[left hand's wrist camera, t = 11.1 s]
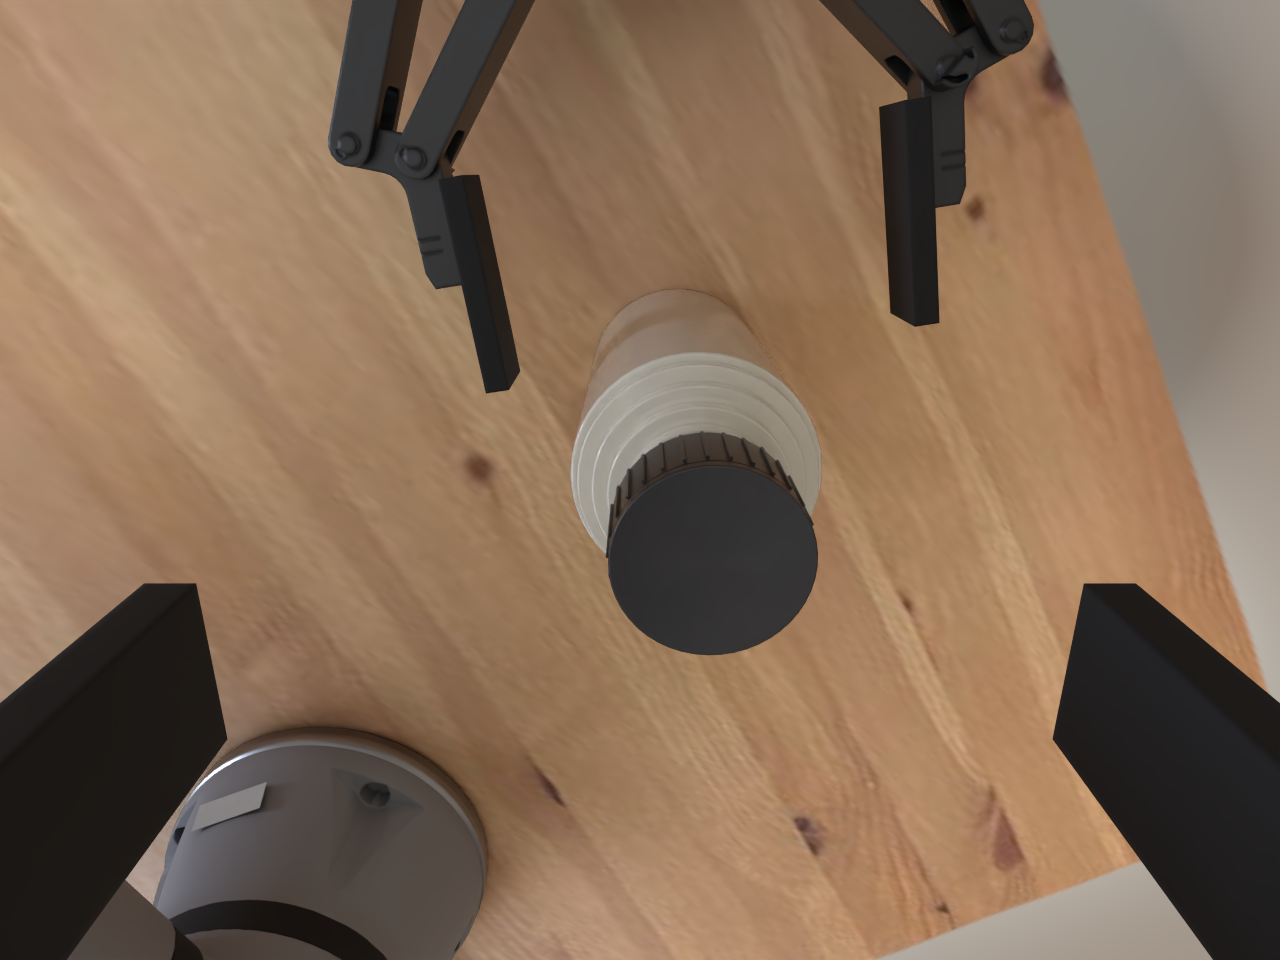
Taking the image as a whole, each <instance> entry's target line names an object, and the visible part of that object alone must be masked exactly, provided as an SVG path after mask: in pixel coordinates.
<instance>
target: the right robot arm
mask: <svg viewBox="0 0 1280 960" xmlns="http://www.w3.org/2000/svg"><path fill="white" fill-rule="evenodd" d="M422 1H423V0H353V1H352V6H351V12H350V18H349V23H348V29H347V35H346V40H345V46H344V52H343V57H342V63H341V69H340V74H339V80H338V86H337V92H336V97H335V103H334V109H333V114H332V120H331V126H330V131H329V137H328V147H329V149H330V152H331V155H332V156H333V157H334V158H335V159H336V161H337V162H339V163H341V164H342V165H344V166H350V167H357V168H362V169H367V170H372V171H377V172H382V173H386V174H389V175H391V176H393V177H394V178H396V179H397V180H398V181H399V182H400V183H401V184H402V186H403V187H404V189H405V191H406V194H407V197H408V201H409V206H410V210H411V214H412V218H413V222H414V226H415V231H416V235H417V239H418V241H419V247H420V252H421V254H422V260H423V264H424V268H425V272H426V275H427V276H428V278H429V279H430V281H431V282H432V284H433V285H434V287H435V288H436V289H440V288H447V287H453V286H459V285H462V289H463V294H464V298H465V303H466V307H467V311H468V316H469V320H470V325H471V329H472V333H473V338H474V342H475V347H476V351H477V356H478V360H479V364H480V369H481V373H482V378H483V382H484V387H485V391H486V393H492V392H498V391H505V390H509V389H510V388H511V386H512V384H513V382H514V381H515V379H516V377H517V376H518V374H519V372H520V368H519V363H518V358H517V353H516V348H515V344H514V339H513V334H512V329H511V325H510V320H509V315H508V310H507V306H506V301H505V296H504V291H503V287H502V282H501V277H500V272H499V267H498V263H497V258H496V253H495V248H494V244H493V239H492V234H491V229H490V225H489V220H488V215H487V210H486V205H485V201H484V196H483V191H482V186H481V182H480V177H479V175H461V176H455V177H453V175H452V173H453V172H454V171H455V170H454V169H453V168H451V167H452V165H453V163H454V161H455V159H456V157H457V155H458V153H459V151H460V149H461V147H462V145H463V143H464V141H465V139H466V137H467V135H468V133H469V131H470V129H471V127H472V125H473V123H474V121H475V119H476V117H477V115H478V113H479V111H480V109H481V107H482V105H483V103H484V101H485V99H486V97H487V95H488V93H489V91H490V89H491V87H492V85H493V83H494V81H495V79H496V77H497V75H498V73H499V71H500V69H501V67H502V65H503V63H504V61H505V59H506V57H507V55H508V53H509V51H510V49H511V47H512V45H513V43H514V41H515V39H516V37H517V35H518V33H519V31H520V29H521V27H522V25H523V23H524V21H525V19H526V17H527V15H528V13H529V11H530V9H531V7H532V5H533V3H534V1H535V0H465V2H464V4H463V7H462V9H461V11H460V13H459V15H458V17H457V19H456V21H455V23H454V26H453V28H452V30H451V32H450V34H449V36H448V38H447V40H446V42H445V45H444V47H443V49H442V51H441V53H440V55H439V57H438V59H437V61H436V63H435V66H434V68H433V70H432V72H431V74H430V76H429V78H428V80H427V82H426V85H425V87H424V89H423V91H422V93H421V95H420V97H419V99H418V101H417V104H416V106H415V108H414V110H413V112H412V114H411V116H410V118H409V120H408V123H407V125H406V127H405V129H404V131H403V133H401V132H396V130H397V125H398V120H399V115H400V110H401V106H402V101H403V96H404V91H405V86H406V81H407V76H408V71H409V66H410V61H411V56H412V51H413V46H414V41H415V36H416V31H417V26H418V21H419V16H420V11H421V6H422ZM819 1H820V2H821V3H822V4H823V5H824V6H825V7H826V8H827V9H828V10H829V11H830V12H831V13H832V14H833V15H834V16H835V17H836V18H837V19H838V20H839V21H840V22H841V24H842V25H843V26H844V27H845V28H846V29H847V30H848V31H849V32H850V33H851V34H852V35H853V36H854V37H855V38H856V39H857V40H858V41H859V42H860V43H861V44H862V45H863V47H864V48H865V49H866V50H867V51H868V52H869V53H870V54H871V55H872V56H873V57H874V58H875V59H876V60H877V61H878V62H879V63H880V64H881V65H882V66H883V67H884V68H885V70H886V71H887V72H888V73H889V74H890V75H891V76H892V77H893V78H894V79H895V80H896V81H897V82H898V83H899V84H900V85H901V86H902V87H903V88H904V89H905V90H906V91H907V95H908V100H904V101H900V102H897V103H893V104H889V105H885V106H882V107H879V113H880V131H881V149H882V167H883V185H884V204H885V222H886V240H887V258H888V276H889V294H890V313H891V314H893V315H895V316H897V317H899V318H900V319H902V320H904V321H906V322H908V323H909V324H911V325H913V326H915V327H916V326H923V325H929V324H935V323H939V299H938V271H937V242H936V214H935V208H938V207H944V206H950V205H956V204H960V202H961V199H962V196H963V193H964V190H965V187H966V167H965V121H964V98H965V93H966V89H967V87H968V85H969V83H970V82H971V80H973V78H974V77H975V76H976V75H977V74H979V73H980V72H981V71H983V70H985V69H986V68H988V67H990V66H992V65H993V64H995V63H997V62H999V61H1001V60H1002V59H1004V58H1006V57H1008V56H1009V55H1012V54H1015V53H1017V52H1019V51H1021V50H1022V49H1023V48H1024V47H1025V46H1026V45H1027V44H1028V43H1029V41H1030V39H1031V37H1032V35H1033V28H1034V24H1033V20H1032V16H1031V14H1030V12H1029V10H1028V8H1027V6H1026V4H1025V2H1024V0H933V1H934V3H935V5H936V7H937V9H938V11H939V13H940V15H941V17H942V18H943V20H944V22H945V24H946V26H947V28H948V30H949V32H950V33H949V32H948V31H947V30H946V29H945V28H944V26H943V25H942V24H941V23H940V22H939V21H938V20H937V19H936V18H935V17H934V16H933V14H932V13H931V12H930V11H929V10H928V9H927V8H926V7H925V6H924V5H923V4H922V3H921V1H920V0H819Z"/></svg>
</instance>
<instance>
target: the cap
mask: <svg viewBox="0 0 1280 960" xmlns="http://www.w3.org/2000/svg"><path fill="white" fill-rule="evenodd" d="M805 506H806V505H805V503H804V501H803V499H802V497H801V495H800V493H799V492H798V490H797V488H796V486H795V484H794V482H793V480H792V478H791V476H790V475H789V476H787V474H786V473H785V471H784V469H783V467H782V465H781V463H780V461H779V460H778V459H777V460H775V459H774V458H773V457H772V456H770V455H769V454H768V453H767V452H766V451H765V449H764V448H763V447H762V446H761V447H758V446H757V445H755V444H753V443H751V442H749V441H747V440H746V438H744V437H742V438H739V437H736V436H732V435H728V434H725V432H722V433H712V432H704V431H700V433H693V434H687V435H679V437H676V438H672V439H670V440H668V441H666V442H663V443H662V442H660V443H659V445H658V446H656V447H654V448H653V449H651V450H650V451H648V452H647V453H646V454H644V453H643V454H642V455H641V458H640V459H639V460H638V461H637V462H636V463H635V464H634V465H633V466H632V467H631V468H628V469H627V474H626V475H625V477H624V478H623V480H622V482H621V484H620V486H619V485H617V487H616V496H615V499H614V503H613V504H611V505H610V515H609V524H608V536H607V548H606V558H608V569H609V578H610V582H611V587H612V589H613V592H614V595H615V598H616V600H617V601H618V603H619V605H620V607H621V609H622V610H623V612H624V613H625V614H626V616H627V617H628V619H629V620H630V621H631V622H632V623H633V624H634V625H635V626H636V627H637V628H638V629H639V630H641V631H642V632H643V633H644V634H646V635H647V636H648V637H650V638H652V639H653V640H655V641H656V642H658V643H660V644H662V645H665V646H667V647H669V648H672V649H675V650H678V651H681V652H686V653H691V654H699V655H722V654H729V653H735V652H738V651H742V650H746V649H748V648H751V647H754V646H756V645H759V644H760V643H762V642H764V641H766V640H768V639H770V638H771V637H773V636H774V635H776V634H777V633H778V632H780V631H781V630H782V629H783V628H784V627H786V626H787V625H788V624H789V623H790V622H791V621H792V620H793V619H794V617H795V616H796V615H797V614H798V613H799V611H800V610H801V608H802V607H803V605H804V604H805V602H806V600H807V598H808V596H809V594H810V592H811V590H812V587H813V584H814V581H815V577H816V572H817V566H818V550H817V541H816V537H815V533H814V530H813V527H812V526H813V525H814V524H813V522H812V520H811V518H810V516H809V514H808V512H807V510H806V508H805Z"/></svg>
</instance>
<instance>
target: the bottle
mask: <svg viewBox="0 0 1280 960" xmlns="http://www.w3.org/2000/svg"><path fill="white" fill-rule="evenodd" d="M700 431H704V432H712V433H722V432H725V434H728V435H732V436H736V437H739V438H742V437H744V438H746V440H747V441H749V442H751V443H753V444H755V445H757V446H758V447H761V446H762V447H763V448H764V449H765V451H766V452H767V453H768V454H769V455H770V456H772V457H773V458H774V459H775V460H777V459H778V460H779V461H780V463H781V465H782V467H783V469H784V471H785V473H786V474H787V476H789V475H790V476H791V478H792V480H793V482H794V484H795V486H796V488H797V490H798V492H799V493H800V495H801V497H802V499H803V501H804V503H805V505H806V506H805V508H806V510H807V512H808V514H809V516H810V517H811V515H812V513H813V511H814V508H815V505H816V502H817V499H818V496H819V491H820V485H821V480H822V457H821V448H820V444H819V440H818V436H817V432H816V430H815V427H814V425H813V423H812V420H811V418H810V416H809V414H808V413H807V411H806V409H805V407H804V406H803V404H802V403H801V401H800V400H799V398H798V397H797V396H796V394H795V393H794V391H793V390H792V389H791V387H790V386H789V384H788V383H787V382H786V380H785V379H784V377H783V376H782V375H781V373H780V372H779V370H778V369H777V368H776V366H775V365H774V363H773V362H772V360H771V359H770V358H769V356H768V355H767V353H766V352H765V351H764V349H763V348H762V346H761V345H760V344H759V342H758V341H757V339H756V338H755V337H754V335H753V334H752V332H751V331H750V329H749V328H748V327H747V325H746V324H745V323H744V321H743V320H742V319H741V318H740V316H739V315H738V314H737V313H736V312H735V311H734V310H732V309H731V308H730V307H729V306H727V305H726V304H725V303H723V302H722V301H720V300H718V299H716V298H714V297H712V296H710V295H707V294H704V293H701V292H697V291H693V290H684V289H671V290H664V291H658V292H655V293H651V294H648V295H646V296H644V297H641V298H639V299H637V300H635V301H634V302H632V303H631V304H629V305H628V306H626V307H625V308H624V309H623V310H622V311H620V312H619V313H618V314H617V315H616V317H615V318H614V319H613V320H612V321H611V322H610V324H609V325H608V327H607V328H606V329H605V331H604V333H603V335H602V337H601V339H600V341H599V344H598V347H597V350H596V354H595V358H594V362H593V366H592V371H591V375H590V379H589V383H588V387H587V392H586V396H585V400H584V404H583V409H582V413H581V417H580V421H579V426H578V430H577V434H576V438H575V443H574V447H573V452H572V457H571V471H570V476H571V489H572V494H573V498H574V503H575V506H576V509H577V512H578V514H579V517H580V519H581V521H582V523H583V525H584V527H585V529H586V531H587V532H588V534H589V535H590V536H591V538H592V539H593V541H594V542H595V543H596V545H597V546H598V547H599V548H600V549H601V550H602V551H603V552H604V553H605V554H606V548H607V536H608V524H609V515H610V505H611V504H613V503H614V499H615V496H616V487H617V485H619V486H620V484H621V482H622V480H623V478H624V477H625V475H626V474H627V469H628V468H631V467H632V466H633V465H634V464H635V463H636V462H637V461H638V460H639V459H640V458H641V455H642V454H643V453H644V454H646V453H647V452H648V451H650V450H651V449H653V448H654V447H656V446H658V445H659V443H660V442H662V443H663V442H666V441H668V440H670V439H672V438H676V437H679V435H687V434H693V433H700Z"/></svg>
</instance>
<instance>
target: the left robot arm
mask: <svg viewBox="0 0 1280 960" xmlns="http://www.w3.org/2000/svg"><path fill="white" fill-rule="evenodd" d="M226 740H227V734H226V730H225V725H224V720H223V715H222V710H221V705H220V700H219V695H218V690H217V685H216V680H215V675H214V670H213V665H212V660H211V655H210V650H209V645H208V640H207V635H206V630H205V625H204V620H203V615H202V611H201V606H200V601H199V596H198V591H197V586H196V584H143V585H142V586H141V587H139V588H138V589H137V590H136V591H135V592H133V593H132V594H131V595H130V596H129V597H127V598H126V599H125V600H124V601H123V602H121V603H120V604H119V605H118V606H117V607H115V608H114V609H113V610H112V611H111V612H109V613H108V614H107V615H106V616H105V617H103V618H102V619H101V620H100V621H99V622H97V623H96V624H95V625H94V626H93V627H91V628H90V629H89V630H88V631H87V632H85V633H84V634H83V635H82V636H81V637H79V638H78V639H77V640H76V641H74V642H73V643H72V644H71V645H70V646H68V647H67V648H66V649H65V650H64V651H62V652H61V653H60V654H59V655H58V656H56V657H55V658H54V659H53V660H52V661H50V662H49V663H48V664H47V665H46V666H44V667H43V668H42V669H41V670H40V671H38V672H37V673H36V674H35V675H34V676H32V677H31V678H30V679H29V680H28V681H26V682H25V683H24V684H23V685H22V686H20V687H19V688H18V689H17V690H16V691H14V692H13V693H12V694H11V695H9V696H8V697H7V698H6V699H5V700H3V701H2V702H1V703H0V960H451V959H452V958H453V956H454V955H455V953H456V952H457V950H458V949H459V948H460V947H461V945H462V944H463V942H464V941H465V939H466V937H467V936H468V934H469V932H470V929H471V927H472V925H473V922H474V920H475V917H476V915H477V913H478V910H479V907H480V904H481V900H482V896H483V891H484V887H485V882H486V877H487V870H488V850H487V843H486V838H485V834H484V831H483V828H482V825H481V822H480V820H479V818H478V816H477V814H476V812H475V810H474V808H473V806H472V805H471V803H470V802H469V800H468V799H467V797H466V796H465V795H464V793H463V792H462V791H461V790H460V788H459V787H458V786H457V785H456V784H455V783H454V782H453V781H452V780H451V779H450V778H449V777H448V776H447V775H446V774H445V773H444V772H442V771H441V770H440V769H439V768H438V767H436V766H435V765H434V764H432V763H431V762H430V761H428V760H427V759H425V758H424V757H422V756H420V755H419V754H417V753H415V752H414V751H412V750H410V749H408V748H406V747H404V746H402V745H400V744H397V743H395V742H392V741H390V740H387V739H385V738H381V737H378V736H375V735H372V734H368V733H364V732H359V731H355V730H348V729H341V728H328V727H308V728H297V729H290V730H284V731H279V732H275V733H272V734H268V735H265V736H262V737H259V738H257V739H254V740H252V741H249V742H247V743H245V744H243V745H242V746H240V747H238V748H236V749H234V750H233V751H231V752H230V753H228V754H227V755H226V756H224V757H223V758H222V759H221V760H220V761H218V762H217V763H216V764H215V765H214V766H213V767H212V768H211V769H210V770H209V771H208V772H207V774H206V775H205V776H204V778H203V779H202V781H201V782H200V783H199V785H198V786H197V787H196V789H195V790H194V792H193V793H192V794H191V796H190V797H189V799H188V800H187V802H186V803H185V805H184V807H183V809H182V811H181V813H180V815H179V817H178V819H177V821H176V824H175V826H174V828H173V830H172V833H171V836H170V839H169V843H168V847H167V851H166V857H165V869H164V872H163V874H162V877H161V879H160V882H159V885H158V888H157V892H156V896H155V899H154V903H153V905H152V904H151V903H150V902H149V901H148V900H147V899H145V898H144V897H143V896H142V895H141V894H140V893H139V892H138V891H137V890H136V889H134V888H133V887H132V886H131V885H130V884H129V883H128V882H127V881H126V880H125V879H126V878H127V876H128V875H129V874H130V872H131V871H132V870H133V868H134V867H135V865H136V864H137V863H138V861H139V860H140V859H141V857H142V856H143V854H144V853H145V852H146V850H147V849H148V848H149V846H150V845H151V843H152V842H153V841H154V839H155V838H156V837H157V835H158V834H159V832H160V831H161V830H162V828H163V827H164V826H165V824H166V823H167V821H168V820H169V819H170V817H171V816H172V815H173V813H174V812H175V810H176V809H177V808H178V806H179V805H180V804H181V802H182V801H183V799H184V798H185V797H186V795H187V794H188V793H189V791H190V790H191V788H192V787H193V786H194V784H195V783H196V782H197V780H198V779H199V777H200V776H201V775H202V773H203V772H204V771H205V769H206V768H207V766H208V765H209V764H210V762H211V761H212V760H213V758H214V757H215V755H216V754H217V753H218V751H219V750H220V749H221V747H222V746H223V744H224V743H225V742H226ZM1053 740H1054V742H1055V743H1056V744H1057V746H1058V747H1059V749H1060V750H1061V751H1062V753H1063V754H1064V755H1065V757H1066V758H1067V760H1068V761H1069V762H1070V764H1071V765H1072V766H1073V768H1074V769H1075V771H1076V772H1077V773H1078V775H1079V776H1080V777H1081V779H1082V780H1083V782H1084V783H1085V784H1086V786H1087V787H1088V788H1089V790H1090V791H1091V793H1092V794H1093V795H1094V797H1095V798H1096V799H1097V801H1098V802H1099V804H1100V805H1101V806H1102V808H1103V809H1104V810H1105V812H1106V813H1107V815H1108V816H1109V817H1110V819H1111V820H1112V821H1113V823H1114V824H1115V826H1116V827H1117V828H1118V830H1119V831H1120V832H1121V834H1122V835H1123V837H1124V838H1125V839H1126V841H1127V842H1128V843H1129V845H1130V846H1131V848H1132V849H1133V850H1134V852H1135V853H1136V854H1137V856H1138V857H1139V859H1140V860H1141V861H1142V863H1143V864H1144V865H1145V867H1146V868H1147V870H1148V871H1149V872H1150V874H1151V875H1152V876H1153V878H1154V879H1155V881H1156V882H1157V883H1158V885H1159V886H1160V887H1161V889H1162V890H1163V892H1164V893H1165V894H1166V896H1167V897H1168V898H1169V900H1170V901H1171V903H1172V904H1173V905H1174V907H1175V908H1176V909H1177V911H1178V912H1179V913H1180V915H1181V916H1182V918H1183V919H1184V920H1185V922H1186V923H1187V924H1188V926H1189V927H1190V929H1191V930H1192V931H1193V933H1194V934H1195V936H1196V937H1197V938H1198V940H1199V941H1200V942H1201V944H1202V945H1203V947H1204V948H1205V949H1206V951H1207V952H1208V953H1209V955H1210V956H1211V958H1212V959H1213V960H1280V703H1279V702H1278V701H1276V700H1275V699H1274V698H1273V697H1272V696H1271V695H1269V694H1268V693H1267V692H1266V691H1264V690H1263V689H1262V688H1261V687H1260V686H1258V685H1257V684H1256V683H1255V682H1254V681H1252V680H1251V679H1250V678H1249V677H1248V676H1246V675H1245V674H1244V673H1243V672H1242V671H1240V670H1239V669H1238V668H1237V667H1236V666H1234V665H1233V664H1232V663H1231V662H1230V661H1228V660H1227V659H1226V658H1225V657H1224V656H1222V655H1221V654H1220V653H1219V652H1218V651H1216V650H1215V649H1214V648H1213V647H1212V646H1210V645H1209V644H1208V643H1207V642H1206V641H1204V640H1203V639H1202V638H1201V637H1199V636H1198V635H1197V634H1196V633H1195V632H1193V631H1192V630H1191V629H1190V628H1189V627H1187V626H1186V625H1185V624H1184V623H1183V622H1181V621H1180V620H1179V619H1178V618H1177V617H1175V616H1174V615H1173V614H1172V613H1171V612H1169V611H1168V610H1167V609H1166V608H1165V607H1163V606H1162V605H1161V604H1160V603H1159V602H1157V601H1156V600H1155V599H1154V598H1153V597H1151V596H1150V595H1149V594H1148V593H1147V592H1145V591H1144V590H1143V589H1142V588H1141V587H1139V586H1138V585H1137V584H1084V586H1083V591H1082V596H1081V601H1080V606H1079V611H1078V615H1077V620H1076V625H1075V630H1074V635H1073V640H1072V645H1071V650H1070V655H1069V660H1068V665H1067V670H1066V675H1065V680H1064V685H1063V690H1062V695H1061V700H1060V705H1059V710H1058V715H1057V720H1056V725H1055V730H1054V734H1053Z"/></svg>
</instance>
